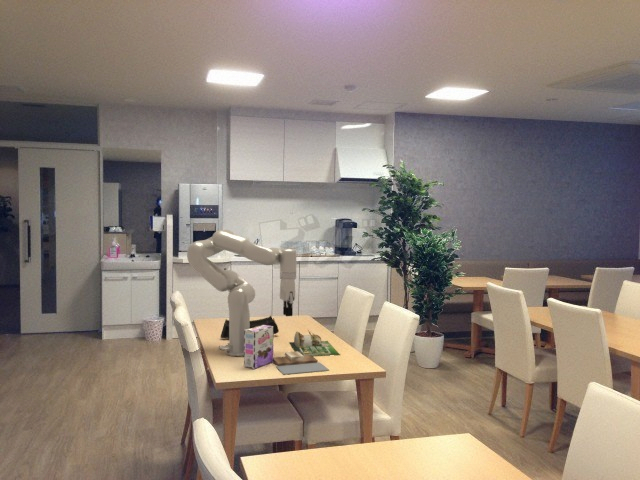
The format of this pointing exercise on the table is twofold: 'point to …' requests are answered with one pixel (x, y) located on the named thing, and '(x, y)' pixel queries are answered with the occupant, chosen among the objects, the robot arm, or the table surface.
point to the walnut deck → (284, 361)
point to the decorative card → (312, 345)
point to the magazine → (252, 325)
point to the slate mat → (301, 368)
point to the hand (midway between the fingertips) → (287, 315)
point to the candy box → (258, 346)
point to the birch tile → (294, 356)
